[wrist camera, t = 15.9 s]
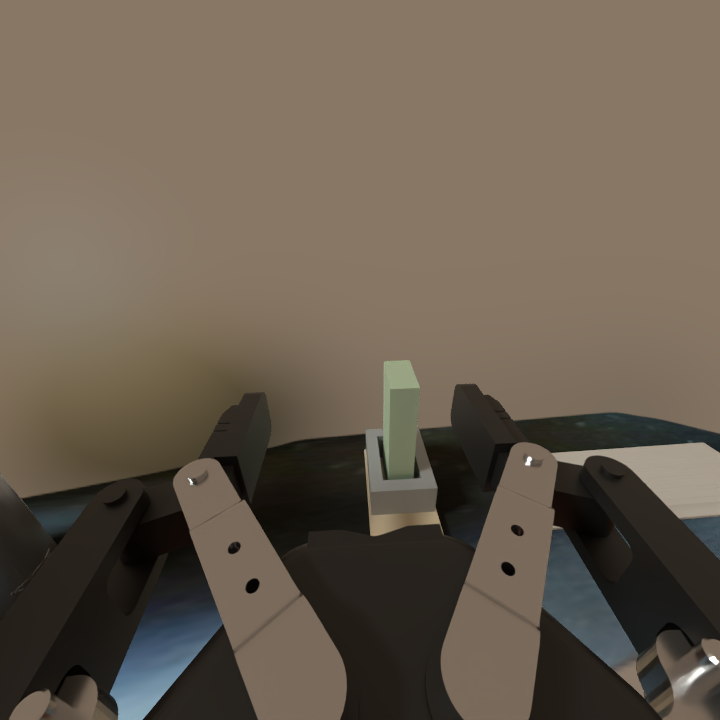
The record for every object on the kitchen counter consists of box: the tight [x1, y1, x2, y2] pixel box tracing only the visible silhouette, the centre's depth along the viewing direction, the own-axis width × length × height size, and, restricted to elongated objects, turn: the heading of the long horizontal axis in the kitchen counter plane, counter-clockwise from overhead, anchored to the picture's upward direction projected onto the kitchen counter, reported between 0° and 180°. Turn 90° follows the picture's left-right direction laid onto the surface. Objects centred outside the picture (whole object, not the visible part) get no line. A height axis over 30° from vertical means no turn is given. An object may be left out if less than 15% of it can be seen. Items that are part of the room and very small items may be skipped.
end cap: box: [366, 427, 438, 515], centre depth 40 cm, size 8×10×4 cm
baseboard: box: [551, 443, 720, 530], centre depth 39 cm, size 31×3×12 cm
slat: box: [383, 360, 420, 480], centre depth 37 cm, size 3×6×16 cm, turn 2°
